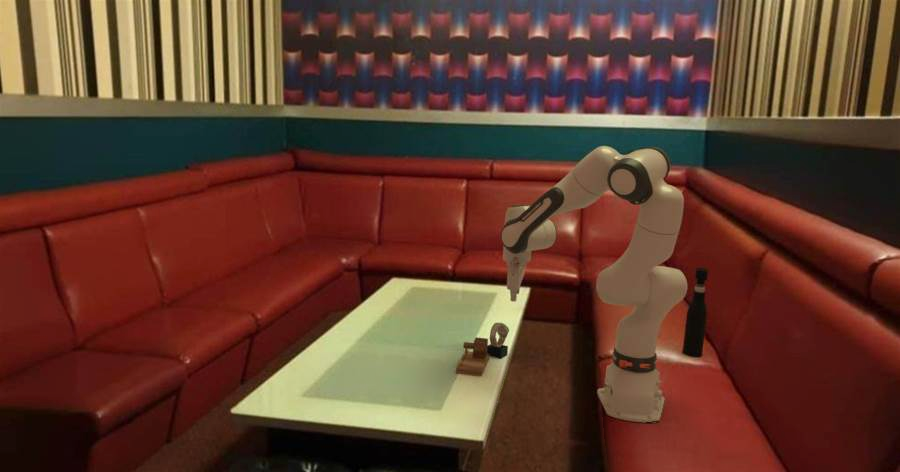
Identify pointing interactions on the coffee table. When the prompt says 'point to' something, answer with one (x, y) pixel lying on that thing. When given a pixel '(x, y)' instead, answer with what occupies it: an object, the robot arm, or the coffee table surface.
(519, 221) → the robot arm
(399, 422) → the coffee table surface
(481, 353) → the brown stepped block
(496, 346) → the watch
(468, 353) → the board
